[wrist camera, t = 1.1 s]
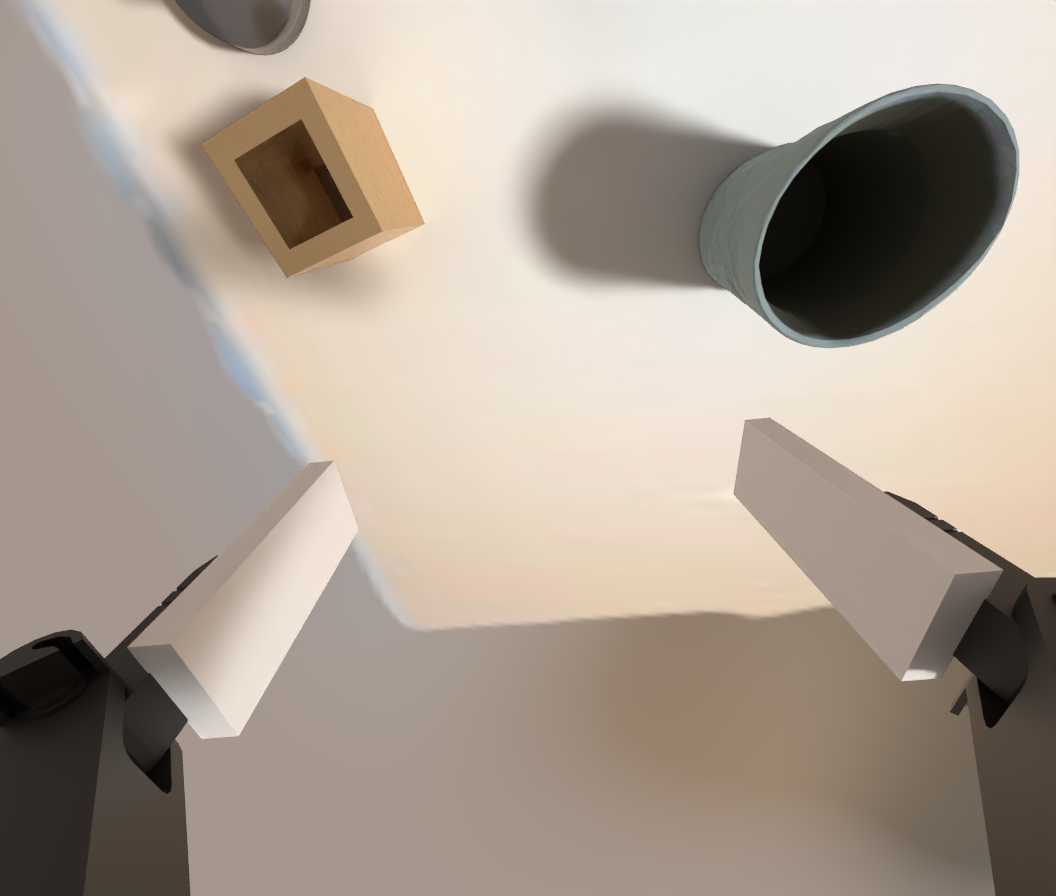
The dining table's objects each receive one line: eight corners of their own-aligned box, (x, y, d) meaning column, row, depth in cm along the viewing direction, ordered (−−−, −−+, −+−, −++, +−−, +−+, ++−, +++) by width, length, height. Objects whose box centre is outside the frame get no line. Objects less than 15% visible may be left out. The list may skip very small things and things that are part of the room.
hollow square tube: (372, 108, 26) (304, 77, 19) (424, 223, 29) (382, 231, 22) (289, 157, 28) (200, 144, 21) (347, 260, 31) (286, 277, 24)
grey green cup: (680, 304, 31) (737, 356, 21) (694, 142, 25) (779, 105, 15) (821, 290, 29) (956, 338, 19) (867, 116, 24) (1084, 58, 14)
